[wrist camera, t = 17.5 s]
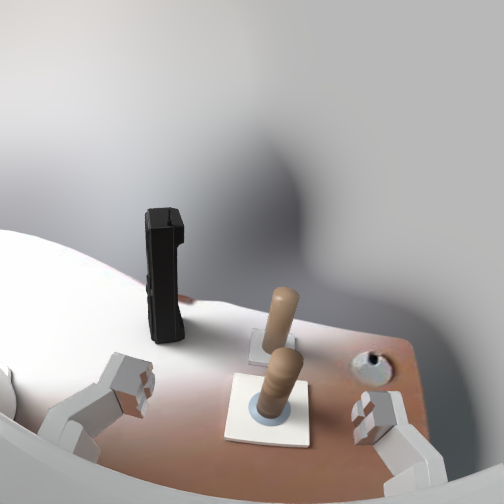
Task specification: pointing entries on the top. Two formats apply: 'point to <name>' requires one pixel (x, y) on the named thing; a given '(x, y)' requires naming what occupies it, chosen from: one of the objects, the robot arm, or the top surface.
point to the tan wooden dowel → (275, 327)
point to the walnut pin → (279, 381)
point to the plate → (262, 429)
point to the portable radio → (163, 273)
